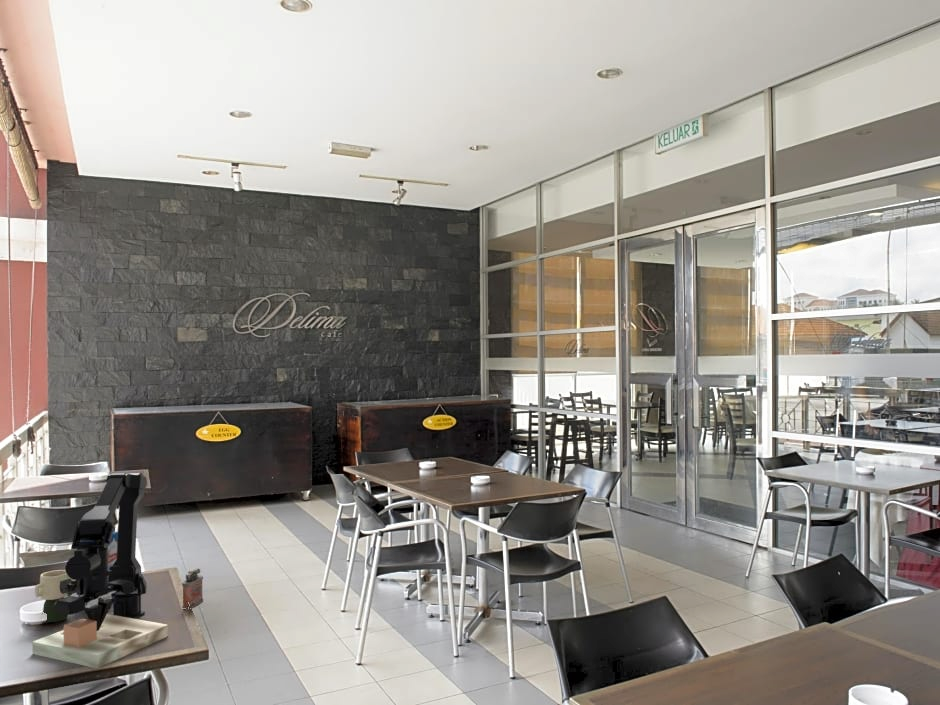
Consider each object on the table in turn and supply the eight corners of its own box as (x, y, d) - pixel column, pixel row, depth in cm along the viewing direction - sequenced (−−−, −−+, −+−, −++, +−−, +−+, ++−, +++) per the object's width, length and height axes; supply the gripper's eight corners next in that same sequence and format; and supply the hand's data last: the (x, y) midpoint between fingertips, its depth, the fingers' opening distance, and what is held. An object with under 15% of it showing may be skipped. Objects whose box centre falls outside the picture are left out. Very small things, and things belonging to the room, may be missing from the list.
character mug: (65, 612, 207) (65, 566, 207) (81, 616, 204) (81, 569, 204) (27, 625, 197) (27, 577, 197) (43, 629, 194) (43, 580, 194)
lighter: (190, 610, 208) (189, 575, 208) (179, 609, 208) (179, 574, 208) (205, 601, 216) (205, 567, 216) (195, 600, 216) (195, 566, 216)
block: (82, 636, 180) (81, 618, 180) (96, 639, 178) (96, 621, 178) (63, 644, 176) (63, 625, 176) (78, 647, 174) (78, 628, 174)
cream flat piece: (106, 624, 197) (106, 613, 197) (167, 636, 188) (167, 624, 188) (32, 654, 177) (32, 641, 177) (97, 668, 169) (97, 655, 169)
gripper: (104, 555, 193) (104, 614, 193) (37, 575, 176) (38, 640, 176) (135, 559, 189) (136, 619, 188) (70, 579, 171) (71, 646, 171)
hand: (96, 630), depth 181 cm, fingers closed
